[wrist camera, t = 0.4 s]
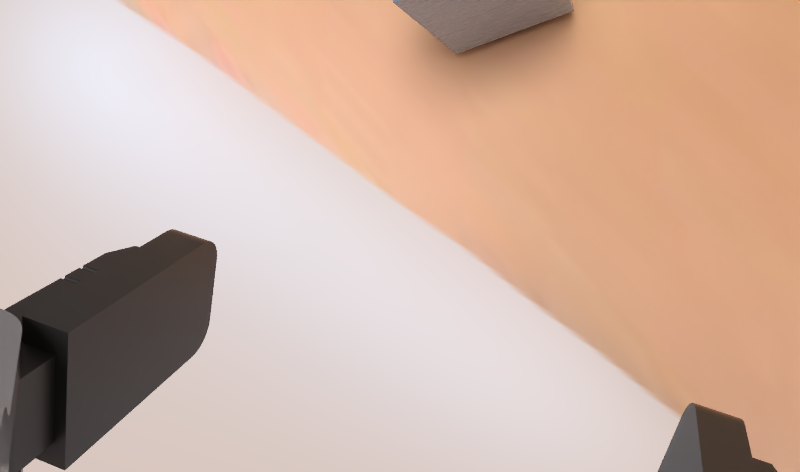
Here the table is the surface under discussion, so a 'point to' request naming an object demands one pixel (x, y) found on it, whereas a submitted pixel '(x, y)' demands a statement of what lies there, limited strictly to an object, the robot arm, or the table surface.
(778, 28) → the table surface
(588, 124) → the table surface
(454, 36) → the silver metal piece
